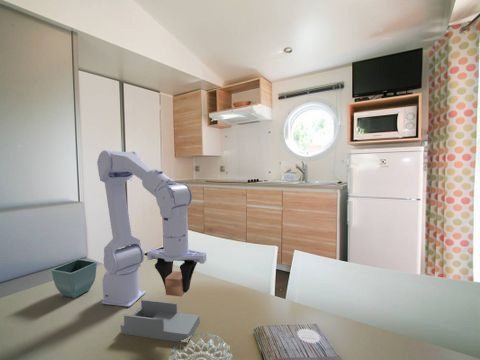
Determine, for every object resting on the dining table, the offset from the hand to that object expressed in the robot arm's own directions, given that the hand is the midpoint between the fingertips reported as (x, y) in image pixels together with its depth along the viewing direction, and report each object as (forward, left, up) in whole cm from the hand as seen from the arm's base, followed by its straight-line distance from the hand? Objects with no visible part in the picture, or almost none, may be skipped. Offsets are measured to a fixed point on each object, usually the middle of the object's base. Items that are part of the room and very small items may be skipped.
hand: (177, 289), depth 58 cm
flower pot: (-39, +9, -10) cm, 42 cm away
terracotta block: (0, 0, 0) cm, 0 cm away
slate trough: (-3, -1, -9) cm, 10 cm away
